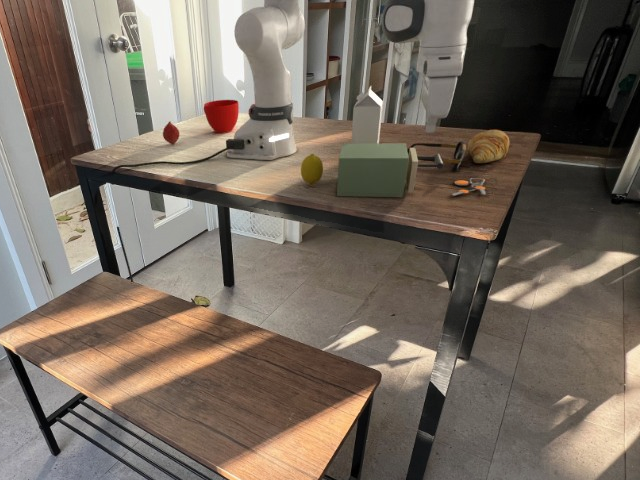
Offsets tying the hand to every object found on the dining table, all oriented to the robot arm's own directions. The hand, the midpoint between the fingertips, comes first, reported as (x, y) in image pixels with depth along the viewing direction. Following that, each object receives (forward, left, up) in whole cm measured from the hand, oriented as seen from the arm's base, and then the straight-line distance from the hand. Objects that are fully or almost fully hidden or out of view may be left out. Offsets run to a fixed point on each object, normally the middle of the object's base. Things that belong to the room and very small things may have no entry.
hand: (429, 130), depth 98 cm
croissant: (+19, +27, -14) cm, 35 cm away
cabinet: (-12, 0, -13) cm, 18 cm away
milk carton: (-14, +23, -14) cm, 30 cm away
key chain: (+11, 0, -13) cm, 17 cm away
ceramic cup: (-69, +60, -14) cm, 92 cm away
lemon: (-26, +1, -14) cm, 30 cm away
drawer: (-6, 0, -13) cm, 14 cm away
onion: (-81, +40, -14) cm, 91 cm away
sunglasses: (+4, +19, -14) cm, 24 cm away
